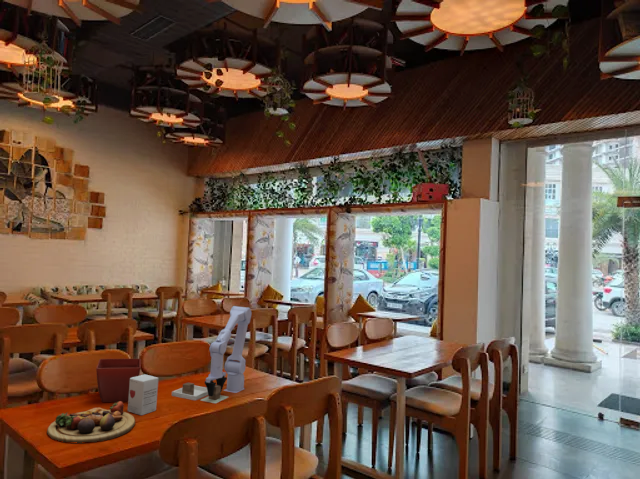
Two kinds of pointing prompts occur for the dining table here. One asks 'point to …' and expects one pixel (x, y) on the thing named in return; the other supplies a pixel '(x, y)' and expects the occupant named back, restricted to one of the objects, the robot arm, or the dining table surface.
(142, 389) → the supplement box
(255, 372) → the dining table surface
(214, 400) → the sage mat
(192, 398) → the parts tray
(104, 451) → the dining table surface
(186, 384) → the plain block
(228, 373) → the robot arm
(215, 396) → the labelled block
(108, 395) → the plant pot
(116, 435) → the wooden plate with food
